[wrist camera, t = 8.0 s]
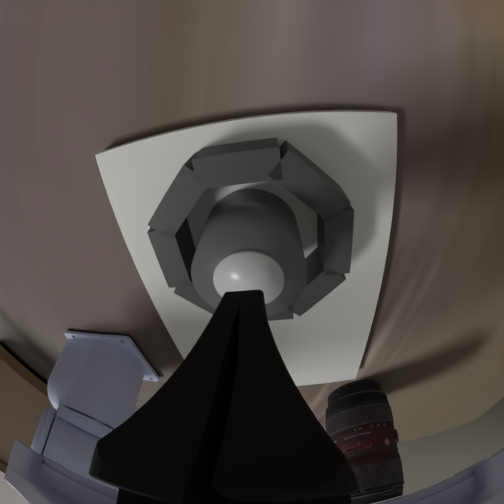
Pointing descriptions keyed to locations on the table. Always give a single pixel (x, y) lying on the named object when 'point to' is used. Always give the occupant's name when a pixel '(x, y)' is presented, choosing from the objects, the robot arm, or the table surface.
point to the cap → (250, 251)
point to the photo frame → (18, 405)
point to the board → (299, 200)
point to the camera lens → (366, 440)
